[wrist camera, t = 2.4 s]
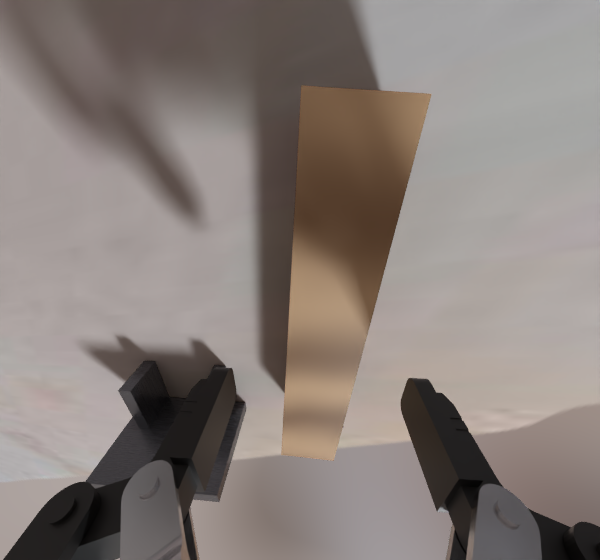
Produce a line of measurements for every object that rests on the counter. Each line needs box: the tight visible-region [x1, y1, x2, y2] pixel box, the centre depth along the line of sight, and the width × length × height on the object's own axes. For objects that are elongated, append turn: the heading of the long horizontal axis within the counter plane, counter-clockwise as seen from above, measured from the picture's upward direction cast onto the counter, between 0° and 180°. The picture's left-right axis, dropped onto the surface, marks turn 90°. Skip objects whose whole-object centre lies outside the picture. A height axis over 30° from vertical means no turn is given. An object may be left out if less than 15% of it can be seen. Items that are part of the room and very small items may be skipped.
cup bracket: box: [86, 361, 246, 502], centre depth 18 cm, size 6×10×7 cm, turn 90°
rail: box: [281, 86, 431, 461], centre depth 14 cm, size 22×4×5 cm, turn 176°
